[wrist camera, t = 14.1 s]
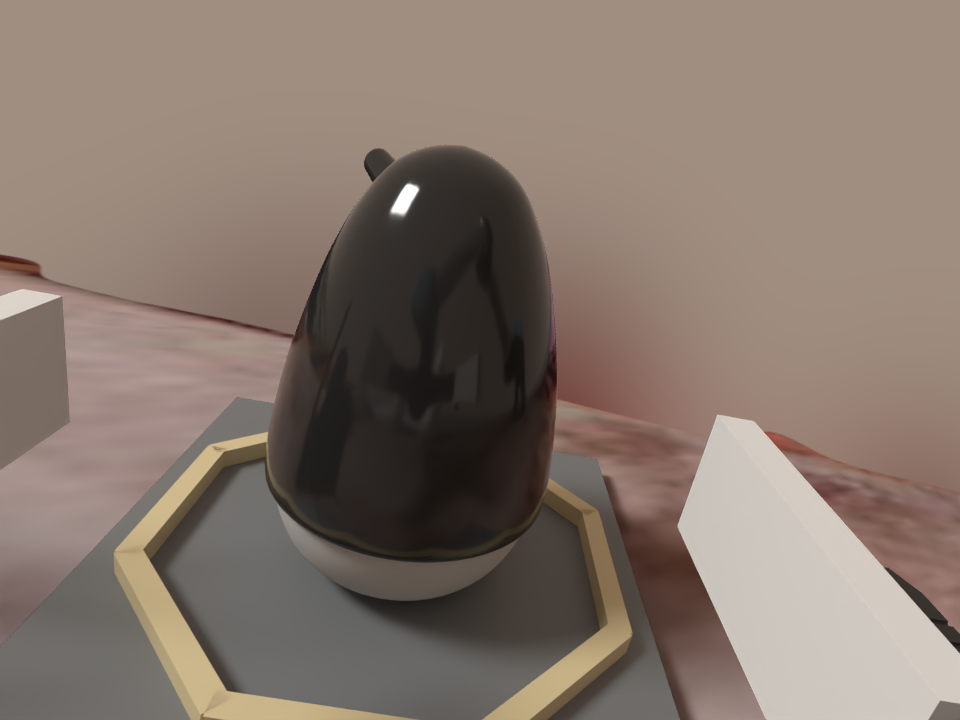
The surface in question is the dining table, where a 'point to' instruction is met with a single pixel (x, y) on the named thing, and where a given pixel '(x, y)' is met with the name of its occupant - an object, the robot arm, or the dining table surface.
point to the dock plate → (330, 615)
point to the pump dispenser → (420, 382)
